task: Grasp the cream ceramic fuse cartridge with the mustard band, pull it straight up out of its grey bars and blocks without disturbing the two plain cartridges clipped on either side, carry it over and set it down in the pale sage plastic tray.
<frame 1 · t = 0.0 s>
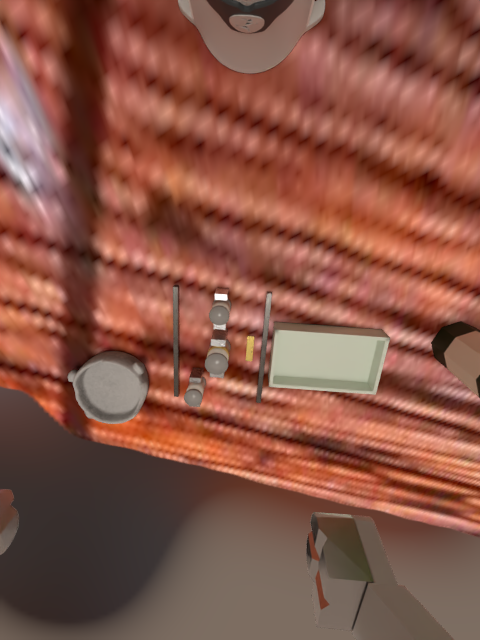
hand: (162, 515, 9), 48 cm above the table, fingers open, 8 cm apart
dish: (116, 379, 64), on the table
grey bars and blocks: (220, 346, 60), on the table
fuse cartridge near arm: (222, 305, 57), on the table
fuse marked: (220, 346, 60), resting in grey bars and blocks
tray: (323, 353, 60), on the table
wine bottle: (454, 342, 59), on the table
fuse cartridge near camera: (197, 381, 63), on the table
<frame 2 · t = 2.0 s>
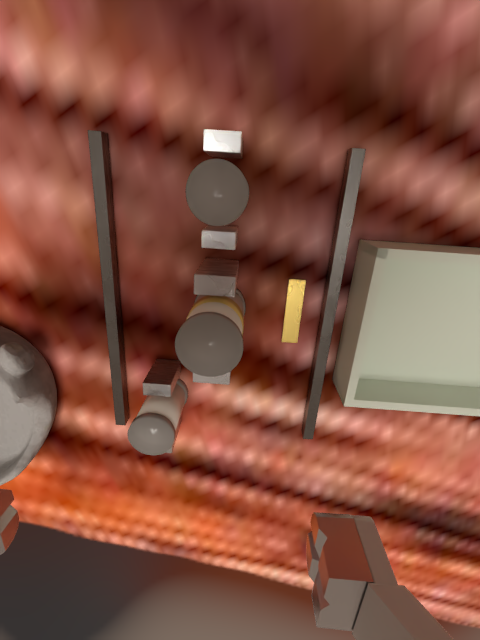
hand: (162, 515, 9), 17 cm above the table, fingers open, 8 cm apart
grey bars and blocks: (220, 306, 25), on the table
fuse cartridge near arm: (225, 192, 22), on the table
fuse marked: (220, 306, 25), resting in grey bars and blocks
tray: (472, 324, 24), on the table
fuse cartridge near camera: (169, 391, 28), on the table
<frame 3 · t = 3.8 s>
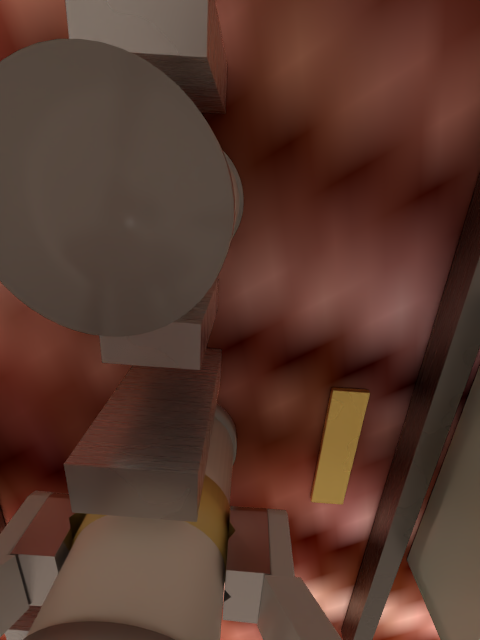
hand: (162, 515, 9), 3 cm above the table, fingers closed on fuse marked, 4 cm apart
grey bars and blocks: (184, 436, 12), on the table
fuse cartridge near arm: (185, 200, 9), on the table
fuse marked: (184, 436, 12), resting in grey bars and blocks, touching gripper
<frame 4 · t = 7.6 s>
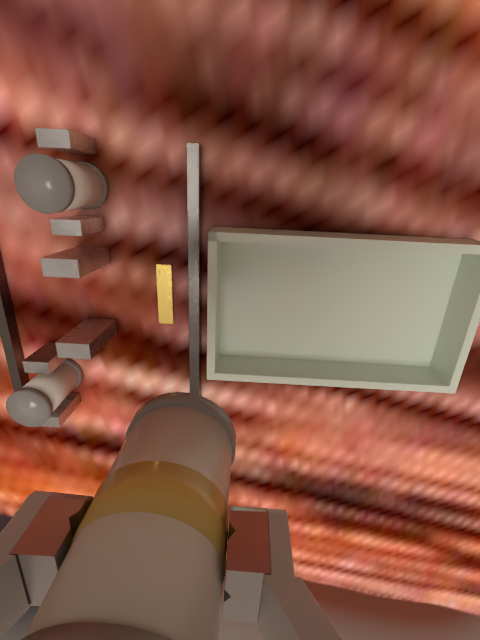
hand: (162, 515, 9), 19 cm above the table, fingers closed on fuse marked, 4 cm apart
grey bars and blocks: (99, 290, 27), on the table
fuse cartridge near arm: (86, 186, 24), on the table
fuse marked: (183, 437, 12), point 16 cm above the table, touching gripper
tray: (330, 303, 27), on the table
fuse cartridge near camera: (65, 372, 30), on the table
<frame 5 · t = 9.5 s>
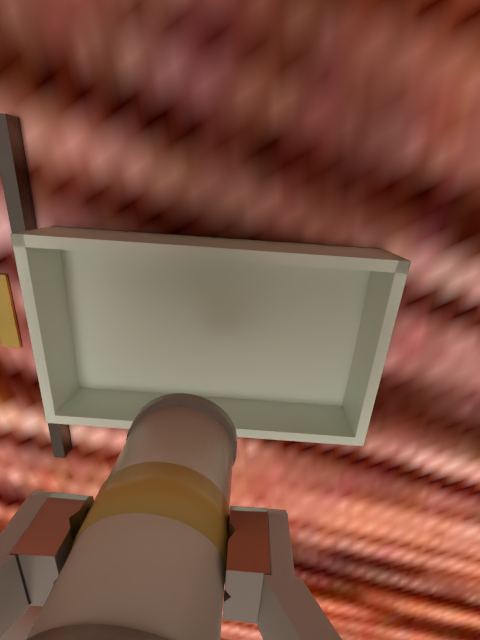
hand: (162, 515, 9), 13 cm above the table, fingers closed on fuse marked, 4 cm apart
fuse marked: (184, 437, 12), point 10 cm above the table, touching gripper
tray: (213, 326, 21), on the table
when the fingers open (5 cm above the table, at t = 11.3 s): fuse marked stays where it is, resting on tray.
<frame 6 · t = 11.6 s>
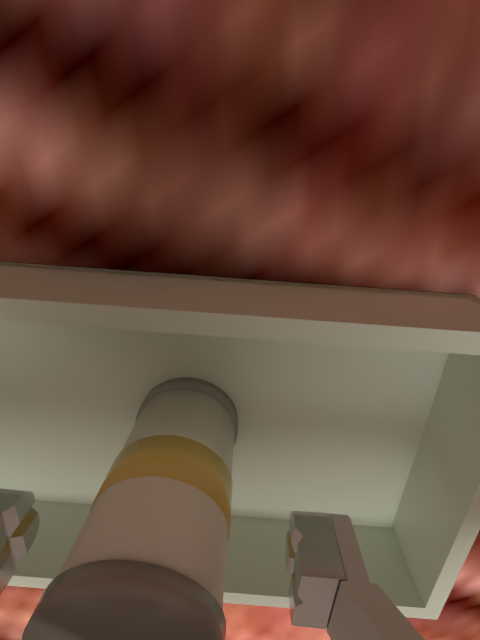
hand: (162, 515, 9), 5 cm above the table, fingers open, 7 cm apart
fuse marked: (189, 419, 13), point 1 cm above the table, touching tray
tray: (192, 410, 13), on the table
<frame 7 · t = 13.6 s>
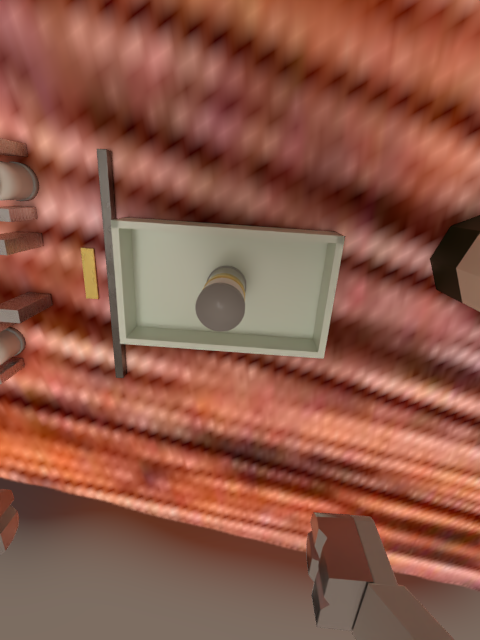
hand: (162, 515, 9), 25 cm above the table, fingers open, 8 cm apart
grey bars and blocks: (35, 269, 32), on the table
fuse cartridge near arm: (21, 182, 29), on the table
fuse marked: (226, 285, 31), point 1 cm above the table, touching tray
tray: (227, 283, 32), on the table
wine bottle: (474, 258, 31), on the table
fuse cartridge near camera: (10, 340, 35), on the table
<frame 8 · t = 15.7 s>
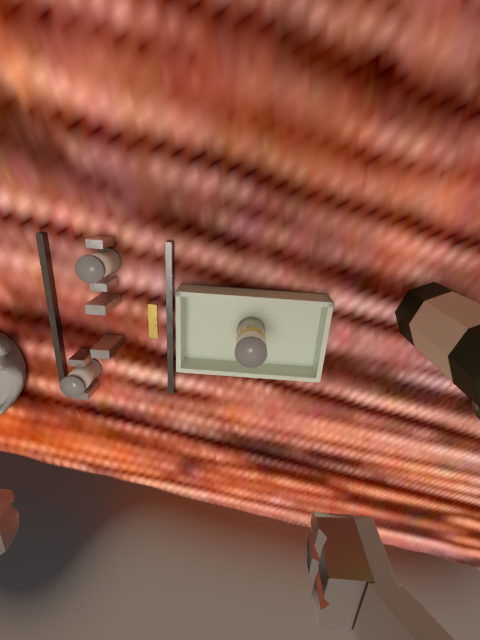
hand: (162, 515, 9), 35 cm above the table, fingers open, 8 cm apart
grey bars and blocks: (113, 318, 45), on the table
fuse cartridge near arm: (108, 260, 42), on the table
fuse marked: (251, 329, 44), point 1 cm above the table, touching tray
tray: (251, 328, 45), on the table
wine bottle: (426, 312, 43), on the table
fuse cartridge near camera: (90, 366, 48), on the table
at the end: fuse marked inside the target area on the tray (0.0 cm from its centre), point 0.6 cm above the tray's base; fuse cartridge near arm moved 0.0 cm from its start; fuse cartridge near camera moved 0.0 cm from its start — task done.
